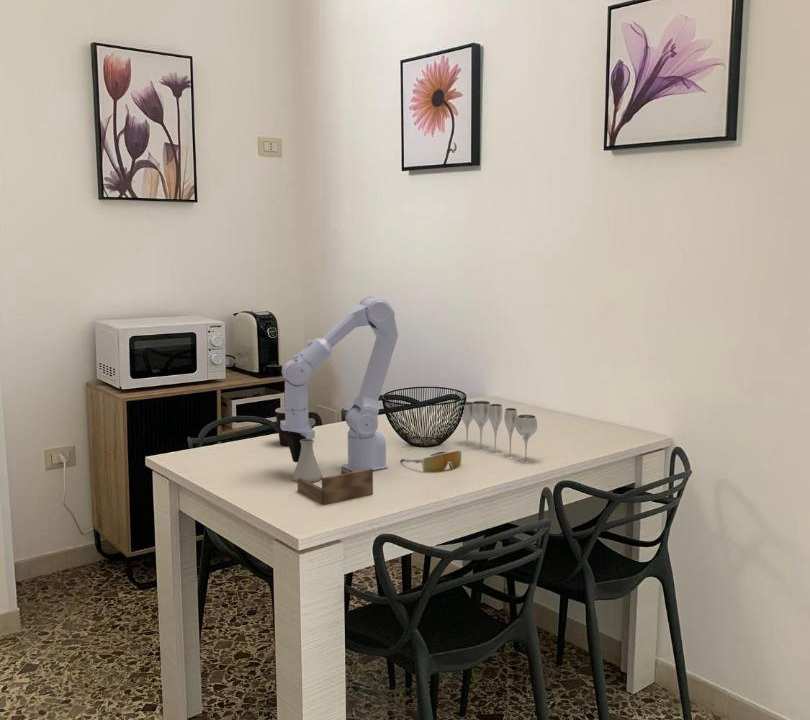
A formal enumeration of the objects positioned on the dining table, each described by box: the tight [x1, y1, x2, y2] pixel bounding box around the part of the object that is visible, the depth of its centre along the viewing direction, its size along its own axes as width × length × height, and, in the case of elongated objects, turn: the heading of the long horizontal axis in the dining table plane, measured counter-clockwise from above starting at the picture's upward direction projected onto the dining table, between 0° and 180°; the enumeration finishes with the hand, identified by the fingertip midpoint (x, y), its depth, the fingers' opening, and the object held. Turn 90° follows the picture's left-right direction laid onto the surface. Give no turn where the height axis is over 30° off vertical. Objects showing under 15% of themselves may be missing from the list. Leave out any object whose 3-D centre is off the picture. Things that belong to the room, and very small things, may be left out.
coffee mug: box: [275, 406, 320, 448], centre depth 238 cm, size 12×9×10 cm
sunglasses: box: [399, 449, 462, 473], centre depth 217 cm, size 14×15×5 cm
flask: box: [291, 438, 324, 483], centre depth 204 cm, size 7×7×10 cm
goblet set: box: [458, 400, 538, 464], centre depth 229 cm, size 28×6×13 cm, turn 39°
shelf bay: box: [296, 468, 374, 506], centre depth 194 cm, size 13×12×6 cm
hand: (297, 461), depth 208 cm, fingers closed
